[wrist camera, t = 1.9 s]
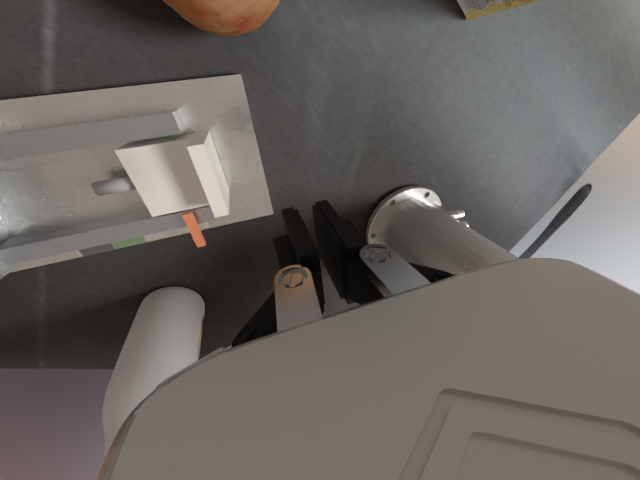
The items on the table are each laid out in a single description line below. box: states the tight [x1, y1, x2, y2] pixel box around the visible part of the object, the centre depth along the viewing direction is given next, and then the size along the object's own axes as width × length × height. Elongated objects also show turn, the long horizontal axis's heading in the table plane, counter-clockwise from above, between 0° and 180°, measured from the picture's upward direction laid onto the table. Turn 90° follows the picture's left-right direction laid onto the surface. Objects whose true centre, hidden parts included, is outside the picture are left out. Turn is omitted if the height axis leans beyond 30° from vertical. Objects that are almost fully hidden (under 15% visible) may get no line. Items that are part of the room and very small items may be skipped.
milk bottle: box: [95, 286, 205, 480], centre depth 25 cm, size 8×8×20 cm
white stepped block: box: [92, 131, 230, 247], centre depth 22 cm, size 10×10×6 cm
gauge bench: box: [0, 74, 273, 280], centre depth 19 cm, size 28×14×10 cm, turn 95°
